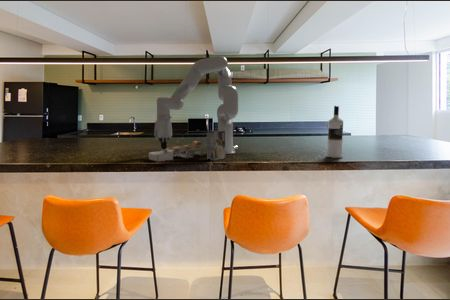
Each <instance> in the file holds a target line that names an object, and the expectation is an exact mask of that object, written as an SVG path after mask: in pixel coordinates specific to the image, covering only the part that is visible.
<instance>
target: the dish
mask: <svg viewBox="0 0 450 300" xmlns="http://www.w3.org/2000/svg"><path fill="white" fill-rule="evenodd" d="M164 152H165V151H161V150H160V151H150V152H148V160H150V161H152V162H156V163H157V162H158V163H159V162H165V161H166V160H167V161H174V156H173V155H174V153H171V152H168V153H165V154H164Z"/></svg>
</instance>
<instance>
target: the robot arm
mask: <svg viewBox="0 0 450 300" xmlns="http://www.w3.org/2000/svg"><path fill="white" fill-rule="evenodd" d="M228 62H229V61H228V60H227V58H226V57H225V56H222V55H217V56H212V57H208V58H202V59H199V60H197V61H195V62H193V64H192V66H191V67H190V68H189V70H188V72H187V73H186V75H185V76H184V78H183V80H182V81H181V82H180V84H179V85H178V87H176V89H175V91H174V92H173V93H172V95H171V96H170V97H165V96H164V97H162V96H161V97H157V98H156V120H155V123H154V132H153V133H154V137H155V140H158V141H159V142H160V150H161V149H166V148H168V147H167V145H168V144H167V143H168V141H169V140H171V139H172V137H173V127H172V121H171V119H172V116H171V110H174V111H178V110H179V111H180V110H181V109H183V107H184V100H185V99H186V98H187V96H188V95H189V94H190V93H191V92H193V91H194V90H195V89H196V87H197V86H198V83H199V82H200V81H201V80H202V79H203V76H204V75H205V74H206V75H207V74H211V73H214V74H215V75H216V77H217V88H218V89H217V90H218V91H217V94H218V99H219V100H220V101H222V102H223V103H222V104H220V105H219V106H218V107H217V111H216V117H217V131H225V155H230V154H232V155H233V154H235V153H236V151H235V150H237V149H238V148H239V146H238V145H234V143H233V141H234V124H233V123H234V122H233V120H234V119H235V118H236V117H237V115H238V112H239V93H238V90H237V88H236V86H233V84H232V74H231V71H230V69H229V68H228Z"/></svg>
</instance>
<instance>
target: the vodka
mask: <svg viewBox="0 0 450 300" xmlns="http://www.w3.org/2000/svg"><path fill="white" fill-rule="evenodd" d="M339 108H340V106H339V105H334V106H333V117H332V118H331V119H329V120H328V123H327V124H328V125H327V126H328V127H327V129H328V132H327V140H326V141H327V148H326V152H325V155H326V157H327V158H329V157H331V158H330V159H341V158H343V156H344V155H343V130H344V120H343V119H341V118H340V116H339V114H340V110H339Z"/></svg>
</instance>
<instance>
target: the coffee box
mask: <svg viewBox="0 0 450 300" xmlns="http://www.w3.org/2000/svg"><path fill="white" fill-rule="evenodd" d="M224 158H225V159H226V154H225V131H218V130H210V131H206V159H207V160H208V159H210V161H219V159H220V160H223V159H224ZM225 159H224V160H225Z"/></svg>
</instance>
